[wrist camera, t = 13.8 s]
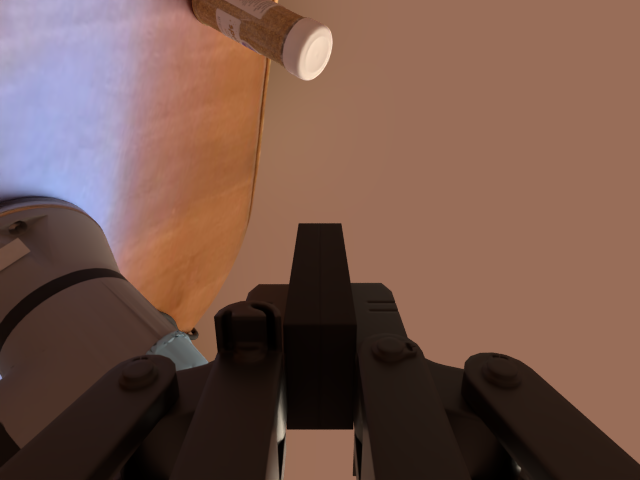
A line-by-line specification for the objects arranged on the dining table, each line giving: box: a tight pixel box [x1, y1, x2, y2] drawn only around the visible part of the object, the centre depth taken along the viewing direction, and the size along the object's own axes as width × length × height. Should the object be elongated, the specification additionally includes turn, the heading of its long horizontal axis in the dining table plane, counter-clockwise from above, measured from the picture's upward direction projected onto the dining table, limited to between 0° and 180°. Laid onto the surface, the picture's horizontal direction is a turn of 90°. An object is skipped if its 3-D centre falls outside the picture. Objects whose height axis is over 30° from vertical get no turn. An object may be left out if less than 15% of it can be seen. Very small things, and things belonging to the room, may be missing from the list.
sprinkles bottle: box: [192, 0, 332, 80], centre depth 36 cm, size 5×5×14 cm
